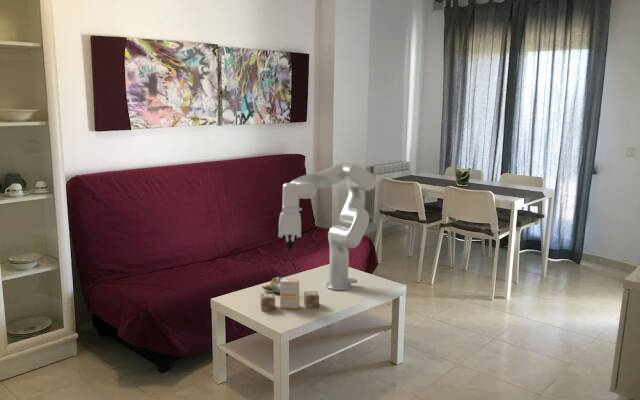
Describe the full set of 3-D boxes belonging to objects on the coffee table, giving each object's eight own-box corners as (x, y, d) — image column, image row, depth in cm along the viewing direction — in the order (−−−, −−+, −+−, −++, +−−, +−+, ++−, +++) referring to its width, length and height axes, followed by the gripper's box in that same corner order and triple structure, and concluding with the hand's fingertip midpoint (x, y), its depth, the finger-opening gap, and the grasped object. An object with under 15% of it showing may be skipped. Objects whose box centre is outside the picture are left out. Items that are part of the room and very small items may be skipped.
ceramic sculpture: (280, 280, 257) (260, 275, 267) (280, 298, 258) (260, 292, 268) (296, 276, 264) (276, 271, 275) (297, 293, 265) (277, 287, 276)
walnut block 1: (273, 305, 249) (273, 292, 248) (275, 310, 244) (275, 297, 242) (260, 306, 248) (260, 293, 247) (261, 311, 242) (261, 298, 241)
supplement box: (299, 305, 250) (299, 278, 247) (297, 309, 245) (298, 281, 243) (281, 304, 250) (281, 277, 248) (279, 308, 246) (279, 280, 243)
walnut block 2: (316, 303, 253) (316, 290, 252) (319, 308, 247) (319, 295, 246) (303, 304, 252) (304, 291, 251) (305, 308, 246) (306, 295, 245)
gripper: (305, 208, 252) (304, 247, 255) (273, 208, 250) (272, 247, 253) (307, 211, 245) (306, 251, 248) (274, 211, 242) (273, 251, 245)
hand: (289, 249), depth 250 cm, fingers closed
